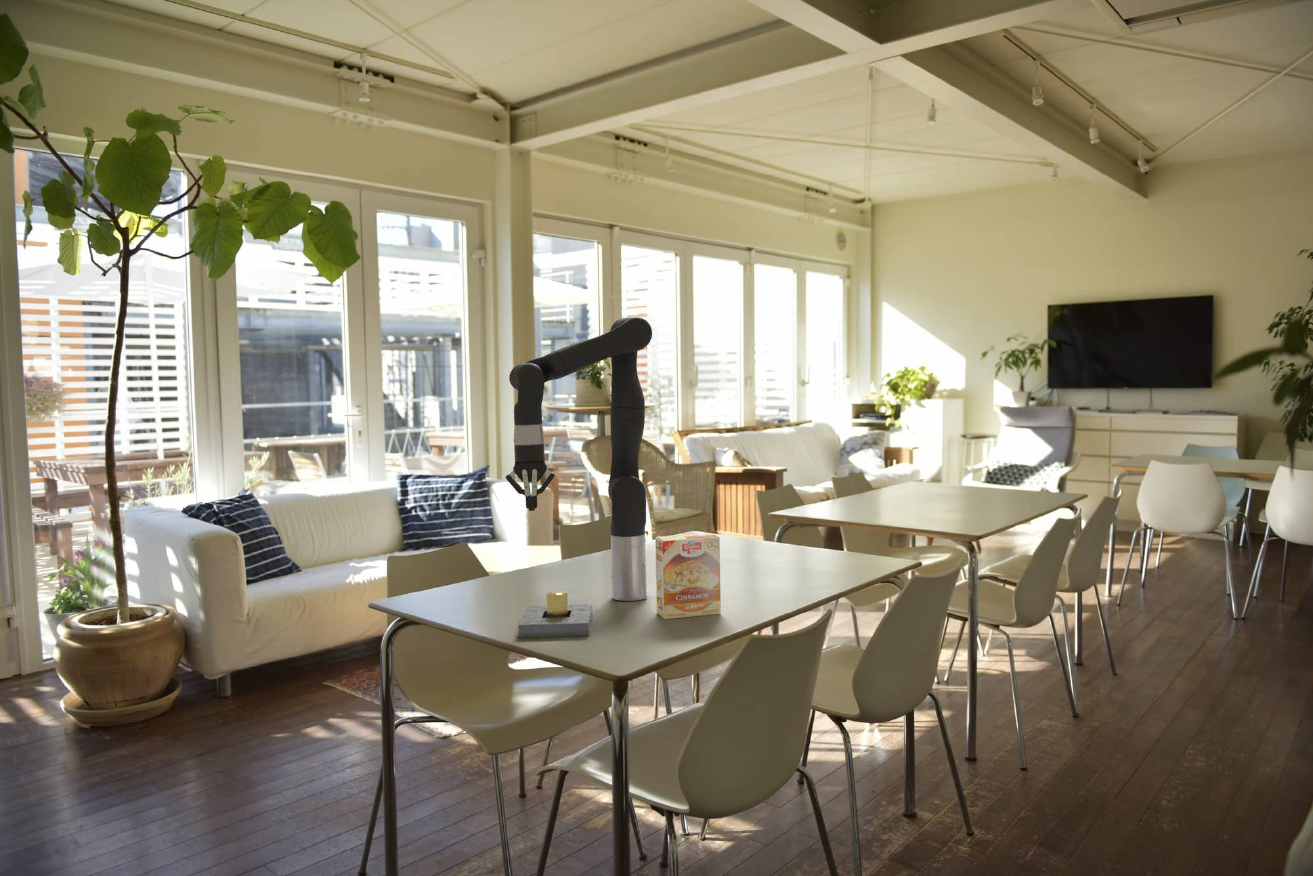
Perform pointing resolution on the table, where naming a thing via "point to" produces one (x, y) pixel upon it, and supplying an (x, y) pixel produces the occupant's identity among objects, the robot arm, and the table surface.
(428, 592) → the table surface
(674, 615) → the coffeecake box
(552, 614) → the short tan cylinder
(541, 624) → the block
